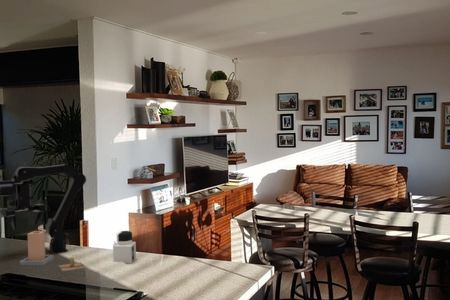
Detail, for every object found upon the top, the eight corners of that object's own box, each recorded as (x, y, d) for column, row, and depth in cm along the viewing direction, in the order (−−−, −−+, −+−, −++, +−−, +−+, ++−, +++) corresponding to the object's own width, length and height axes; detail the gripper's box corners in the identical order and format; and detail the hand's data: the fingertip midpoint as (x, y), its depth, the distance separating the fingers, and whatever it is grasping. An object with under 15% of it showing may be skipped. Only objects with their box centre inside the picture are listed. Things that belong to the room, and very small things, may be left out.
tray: (31, 260, 199) (31, 255, 199) (53, 260, 199) (53, 255, 198) (19, 267, 189) (19, 261, 189) (42, 267, 189) (42, 261, 188)
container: (136, 259, 199) (135, 229, 198) (131, 264, 191) (130, 233, 191) (119, 258, 200) (118, 229, 199) (113, 263, 192) (112, 233, 192)
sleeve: (34, 261, 197) (33, 231, 196) (45, 260, 196) (44, 231, 196) (28, 264, 192) (27, 233, 191) (39, 264, 191) (38, 233, 191)
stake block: (58, 267, 187) (58, 257, 187) (81, 264, 192) (80, 254, 192) (62, 273, 180) (62, 262, 179) (85, 269, 184) (85, 258, 184)
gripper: (34, 191, 218) (35, 223, 218) (-6, 195, 203) (-5, 229, 204) (46, 192, 211) (47, 225, 211) (6, 197, 196) (7, 232, 197)
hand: (24, 228), depth 206 cm, fingers open, 9 cm apart
